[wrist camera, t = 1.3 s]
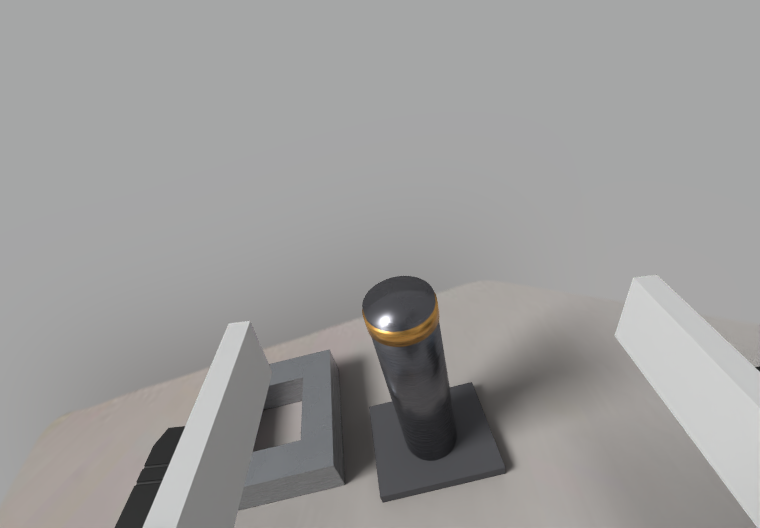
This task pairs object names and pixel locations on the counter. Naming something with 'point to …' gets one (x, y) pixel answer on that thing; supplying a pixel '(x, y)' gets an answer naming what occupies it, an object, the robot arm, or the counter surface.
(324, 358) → the socket
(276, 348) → the counter surface
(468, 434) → the mount
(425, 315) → the cylinder
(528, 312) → the counter surface
